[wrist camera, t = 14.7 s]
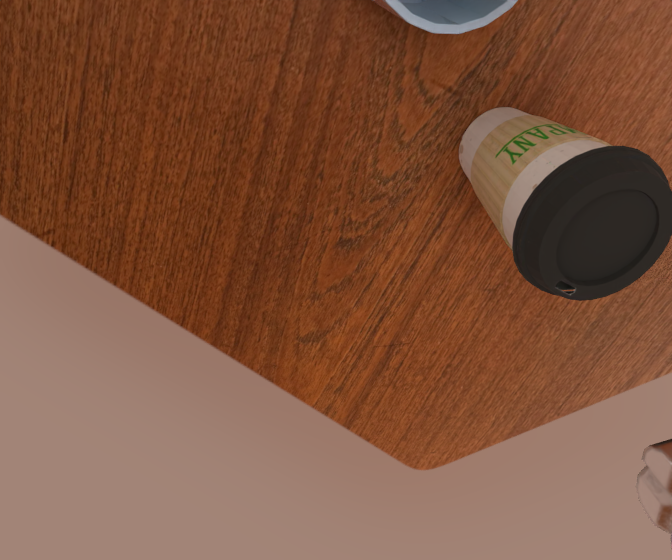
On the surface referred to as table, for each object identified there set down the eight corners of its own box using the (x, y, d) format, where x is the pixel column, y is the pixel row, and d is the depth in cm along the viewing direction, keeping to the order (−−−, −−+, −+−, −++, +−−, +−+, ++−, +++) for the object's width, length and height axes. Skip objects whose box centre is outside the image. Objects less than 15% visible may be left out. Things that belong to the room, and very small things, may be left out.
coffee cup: (580, 121, 47) (720, 205, 35) (501, 221, 51) (602, 329, 38) (490, 56, 43) (614, 126, 30) (411, 171, 46) (493, 275, 34)
